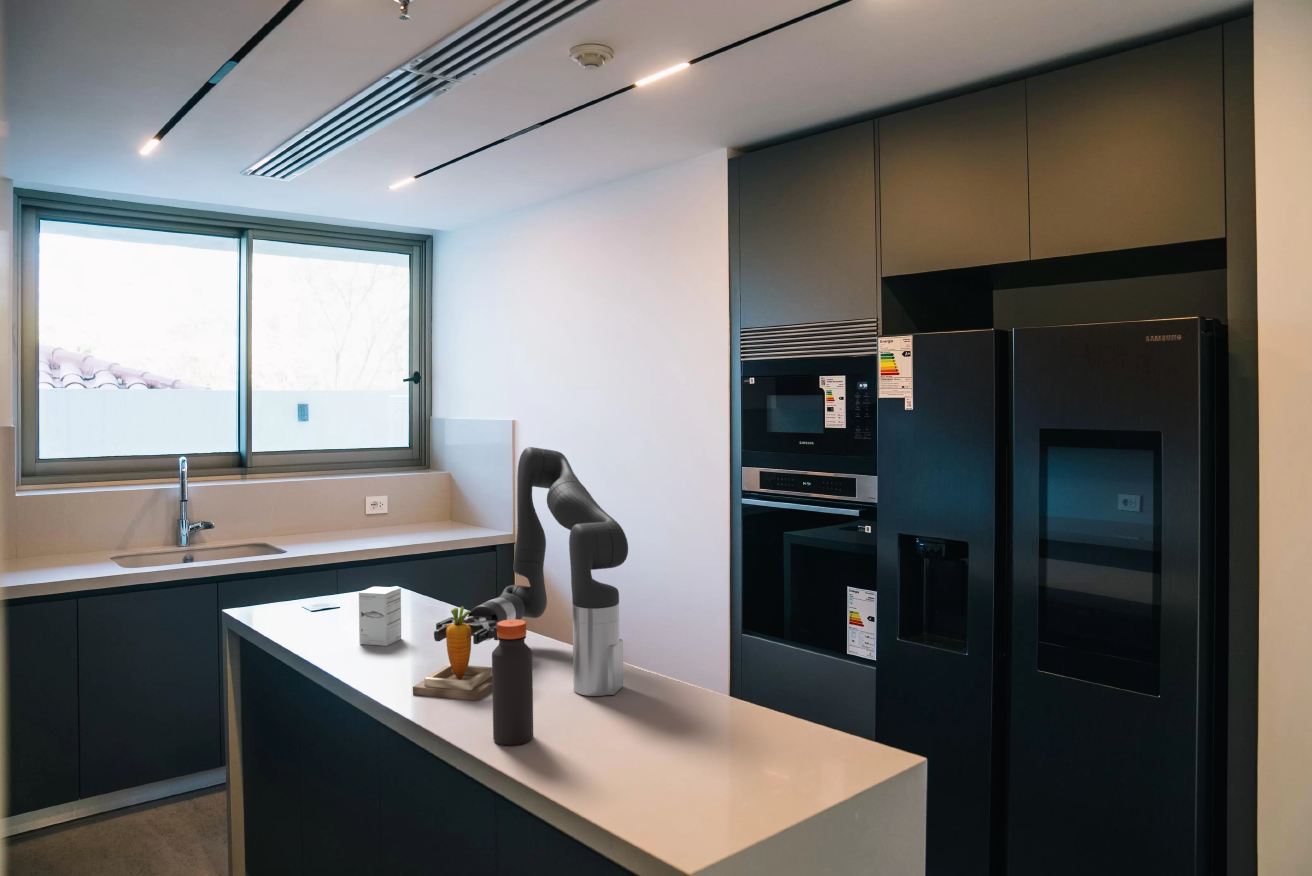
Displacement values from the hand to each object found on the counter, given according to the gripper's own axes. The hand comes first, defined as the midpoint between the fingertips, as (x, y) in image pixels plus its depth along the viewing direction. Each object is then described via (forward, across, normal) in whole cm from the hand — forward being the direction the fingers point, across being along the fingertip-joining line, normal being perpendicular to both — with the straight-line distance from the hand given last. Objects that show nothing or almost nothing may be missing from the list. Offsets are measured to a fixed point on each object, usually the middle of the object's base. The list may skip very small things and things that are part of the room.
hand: (455, 637), depth 178 cm
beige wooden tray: (-1, 0, +10) cm, 11 cm away
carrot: (-2, 0, +9) cm, 9 cm away
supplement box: (-27, -35, +11) cm, 46 cm away
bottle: (+21, +22, +11) cm, 32 cm away
